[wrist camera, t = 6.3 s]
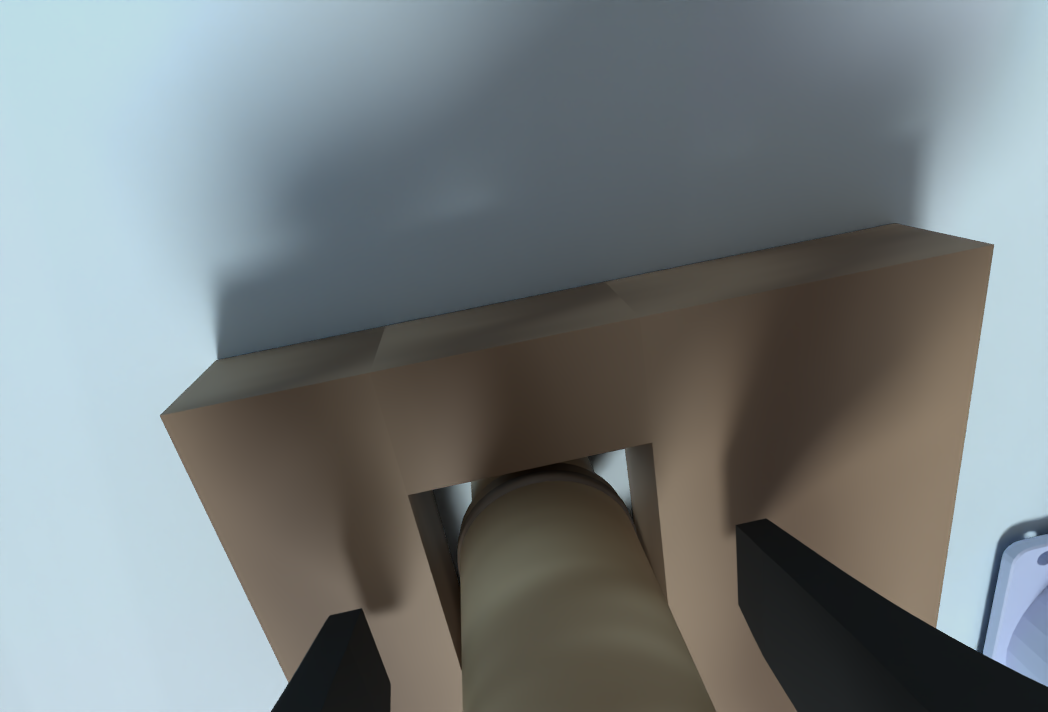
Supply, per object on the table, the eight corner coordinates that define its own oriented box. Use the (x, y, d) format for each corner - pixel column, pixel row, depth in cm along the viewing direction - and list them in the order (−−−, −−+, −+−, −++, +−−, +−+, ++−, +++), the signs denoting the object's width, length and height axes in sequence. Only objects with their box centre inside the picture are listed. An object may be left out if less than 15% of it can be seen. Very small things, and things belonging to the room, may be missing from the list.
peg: (606, 407, 13) (792, 745, 6) (604, 533, 15) (754, 932, 7) (450, 421, 13) (446, 798, 6) (463, 549, 15) (474, 984, 7)
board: (895, 223, 13) (994, 244, 10) (862, 618, 17) (926, 693, 15) (216, 360, 12) (159, 415, 10) (372, 731, 17) (359, 829, 14)
